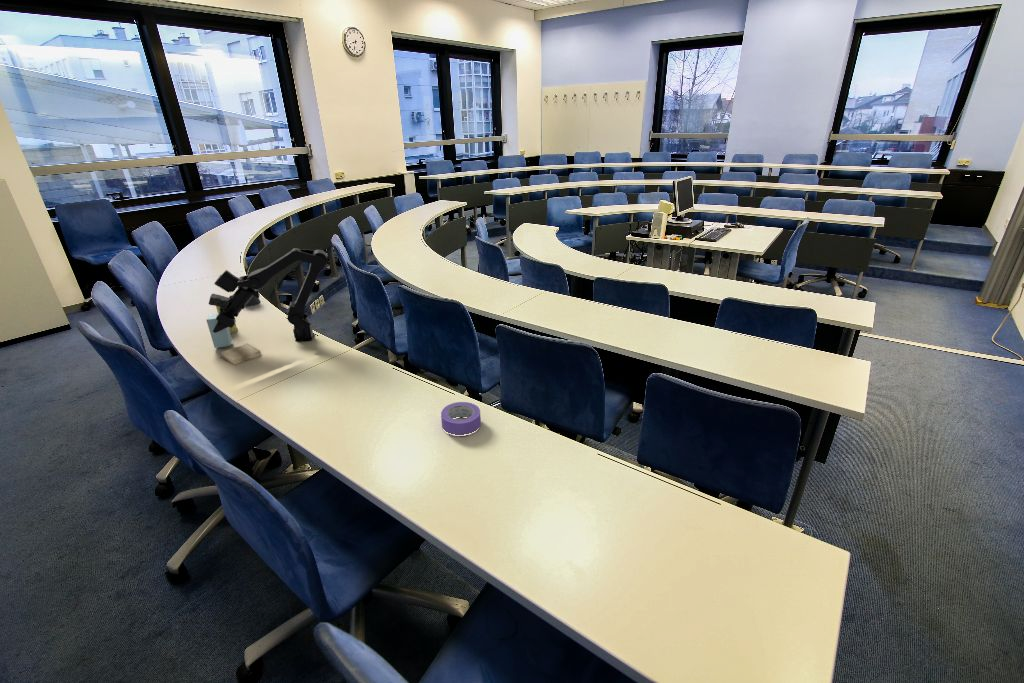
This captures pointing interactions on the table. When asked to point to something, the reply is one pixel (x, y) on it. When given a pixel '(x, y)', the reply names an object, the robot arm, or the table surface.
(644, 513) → the table surface
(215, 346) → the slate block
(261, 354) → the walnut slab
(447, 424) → the tape roll
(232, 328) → the vase
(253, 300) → the mug
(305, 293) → the robot arm
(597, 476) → the table surface
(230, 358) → the birch slab
